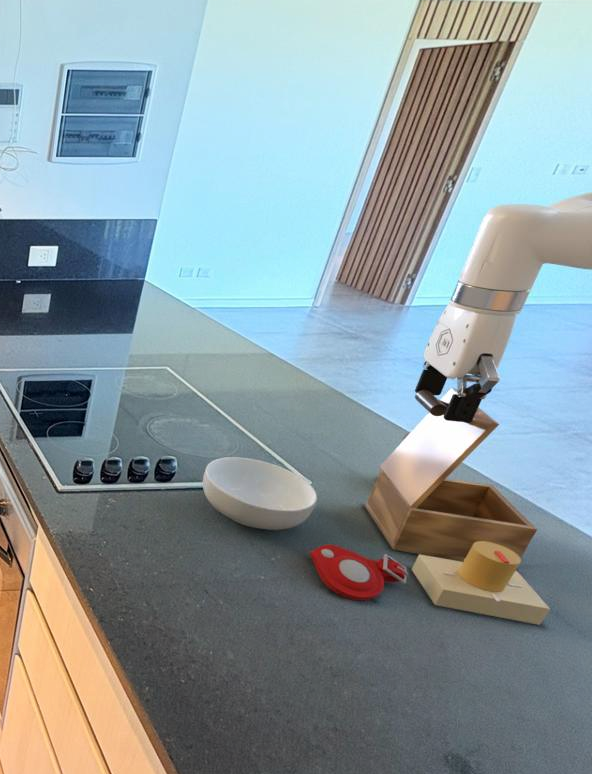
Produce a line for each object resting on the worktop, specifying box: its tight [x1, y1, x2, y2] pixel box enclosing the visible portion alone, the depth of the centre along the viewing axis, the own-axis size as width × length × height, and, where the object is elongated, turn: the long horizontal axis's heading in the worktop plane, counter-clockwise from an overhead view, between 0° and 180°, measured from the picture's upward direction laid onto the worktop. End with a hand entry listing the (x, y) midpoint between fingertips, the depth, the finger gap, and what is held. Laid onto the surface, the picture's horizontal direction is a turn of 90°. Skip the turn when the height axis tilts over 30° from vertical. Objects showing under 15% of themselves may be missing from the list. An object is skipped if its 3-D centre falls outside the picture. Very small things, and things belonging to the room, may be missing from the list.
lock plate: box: [411, 554, 551, 626], centre depth 89 cm, size 12×9×3 cm
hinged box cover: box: [379, 387, 500, 509], centre depth 97 cm, size 16×13×6 cm
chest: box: [364, 469, 538, 562], centre depth 101 cm, size 16×13×8 cm
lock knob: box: [459, 541, 522, 592], centre depth 87 cm, size 5×5×5 cm
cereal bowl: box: [202, 456, 318, 531], centre depth 106 cm, size 17×17×7 cm
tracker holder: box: [308, 544, 410, 601], centre depth 93 cm, size 12×4×10 cm
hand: (441, 406), depth 94 cm, fingers open, 9 cm apart
